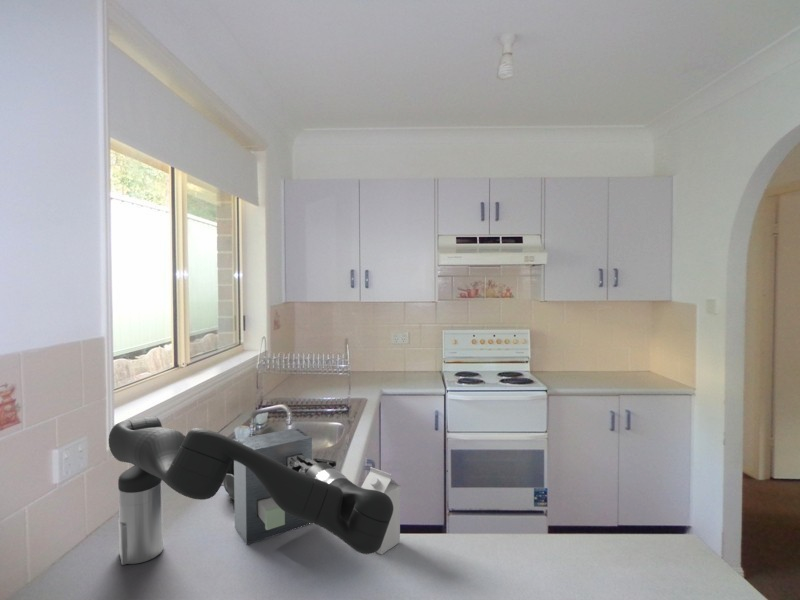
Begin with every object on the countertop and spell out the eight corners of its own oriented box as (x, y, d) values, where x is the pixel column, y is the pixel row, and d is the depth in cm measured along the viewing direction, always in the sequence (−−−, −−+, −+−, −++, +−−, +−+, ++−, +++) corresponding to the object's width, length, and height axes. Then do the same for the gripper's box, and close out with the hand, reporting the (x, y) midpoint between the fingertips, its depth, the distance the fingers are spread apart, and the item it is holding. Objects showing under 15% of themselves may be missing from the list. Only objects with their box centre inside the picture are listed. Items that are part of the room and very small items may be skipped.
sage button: (266, 530, 115) (266, 511, 115) (254, 514, 122) (254, 497, 122) (284, 524, 118) (284, 506, 117) (271, 509, 125) (271, 492, 125)
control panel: (246, 544, 120) (245, 451, 118) (234, 527, 128) (233, 440, 126) (312, 523, 130) (311, 437, 129) (297, 508, 138) (296, 427, 137)
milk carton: (379, 533, 125) (379, 462, 124) (400, 542, 121) (400, 470, 120) (360, 544, 120) (360, 471, 119) (381, 555, 115) (382, 479, 114)
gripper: (355, 462, 103) (320, 439, 117) (297, 477, 95) (267, 450, 109) (355, 495, 103) (320, 468, 117) (297, 513, 95) (267, 482, 109)
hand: (294, 460), depth 113 cm, fingers closed
